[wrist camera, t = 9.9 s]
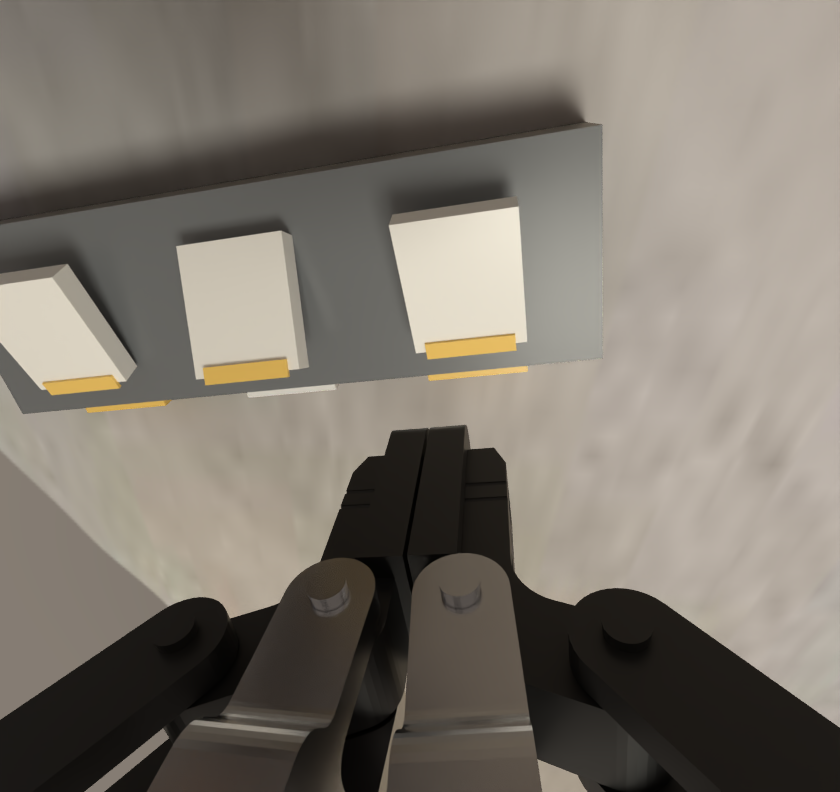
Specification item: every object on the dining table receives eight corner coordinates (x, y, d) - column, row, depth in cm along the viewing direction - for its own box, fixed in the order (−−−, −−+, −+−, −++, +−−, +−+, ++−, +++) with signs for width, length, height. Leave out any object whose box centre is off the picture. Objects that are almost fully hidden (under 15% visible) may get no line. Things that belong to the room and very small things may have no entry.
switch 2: (191, 250, 25) (174, 245, 24) (292, 235, 24) (279, 229, 23) (211, 383, 26) (195, 386, 25) (309, 373, 25) (298, 376, 24)
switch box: (-11, 222, 30) (-78, 237, 26) (585, 122, 24) (602, 124, 21) (74, 391, 35) (28, 422, 31) (589, 338, 29) (602, 370, 26)
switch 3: (392, 214, 22) (388, 226, 21) (516, 196, 21) (519, 207, 20) (419, 344, 26) (416, 360, 25) (525, 333, 25) (527, 349, 24)
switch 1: (-27, 277, 25) (-47, 292, 24) (67, 263, 24) (50, 279, 23) (57, 379, 29) (43, 396, 28) (140, 370, 28) (128, 387, 27)
